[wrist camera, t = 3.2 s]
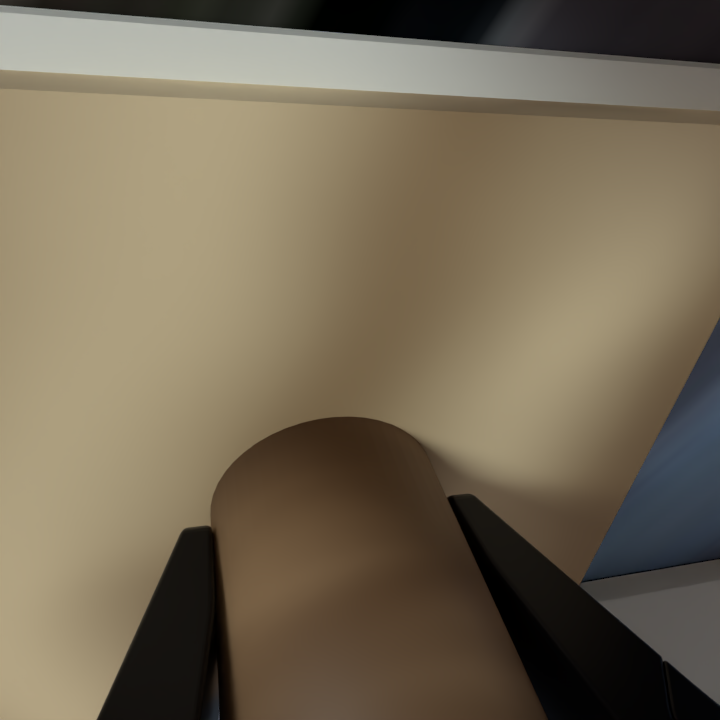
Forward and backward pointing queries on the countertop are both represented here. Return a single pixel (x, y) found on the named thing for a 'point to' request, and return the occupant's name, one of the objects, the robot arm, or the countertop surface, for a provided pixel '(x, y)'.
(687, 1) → the countertop surface
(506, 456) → the lid
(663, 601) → the dish
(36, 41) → the mat
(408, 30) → the countertop surface
